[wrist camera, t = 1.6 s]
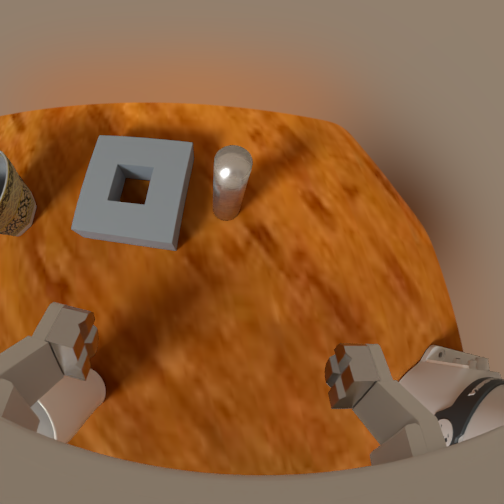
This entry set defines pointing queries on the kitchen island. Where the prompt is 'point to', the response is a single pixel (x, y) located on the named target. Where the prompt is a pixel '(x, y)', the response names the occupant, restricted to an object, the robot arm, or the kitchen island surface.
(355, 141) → the kitchen island surface
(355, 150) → the kitchen island surface
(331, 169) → the kitchen island surface
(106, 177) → the socket block
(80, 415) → the white tapered cylinder
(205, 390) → the kitchen island surface
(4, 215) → the ceramic cup
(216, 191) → the steel pin
